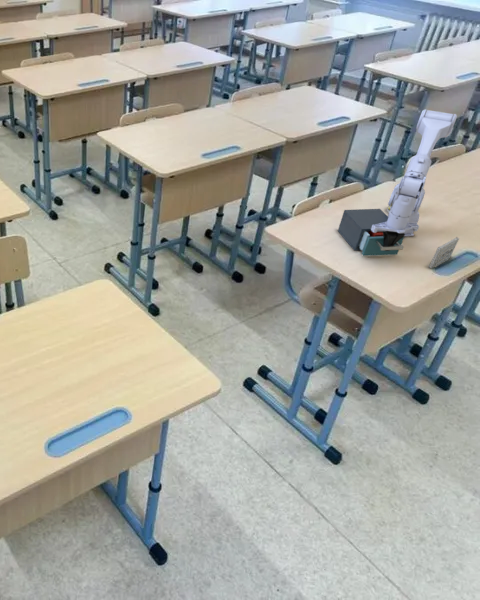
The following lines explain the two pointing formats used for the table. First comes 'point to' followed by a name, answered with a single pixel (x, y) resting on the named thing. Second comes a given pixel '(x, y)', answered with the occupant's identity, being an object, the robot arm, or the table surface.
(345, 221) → the grey drawer cabinet
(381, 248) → the teal drawer
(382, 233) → the red block
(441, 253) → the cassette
